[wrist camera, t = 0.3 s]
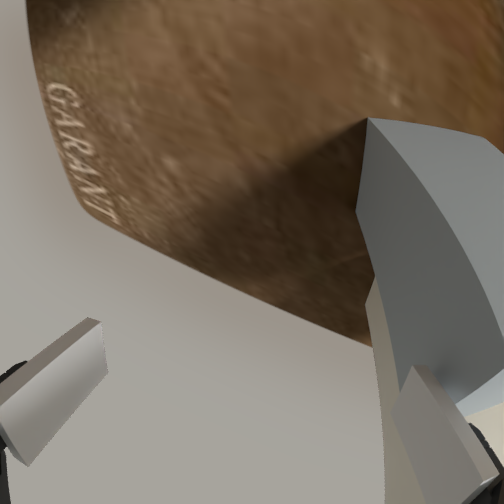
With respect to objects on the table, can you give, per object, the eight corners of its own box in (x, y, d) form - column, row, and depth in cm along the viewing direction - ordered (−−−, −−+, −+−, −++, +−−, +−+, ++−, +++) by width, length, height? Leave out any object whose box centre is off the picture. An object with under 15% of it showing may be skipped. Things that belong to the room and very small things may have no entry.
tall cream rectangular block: (384, 247, 28) (427, 559, 6) (486, 247, 26) (554, 483, 5) (364, 304, 34) (382, 542, 13) (456, 297, 33) (496, 497, 12)
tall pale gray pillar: (367, 117, 19) (511, 362, 5) (483, 137, 17) (616, 309, 4) (355, 211, 25) (404, 432, 11) (458, 215, 24) (535, 386, 10)
